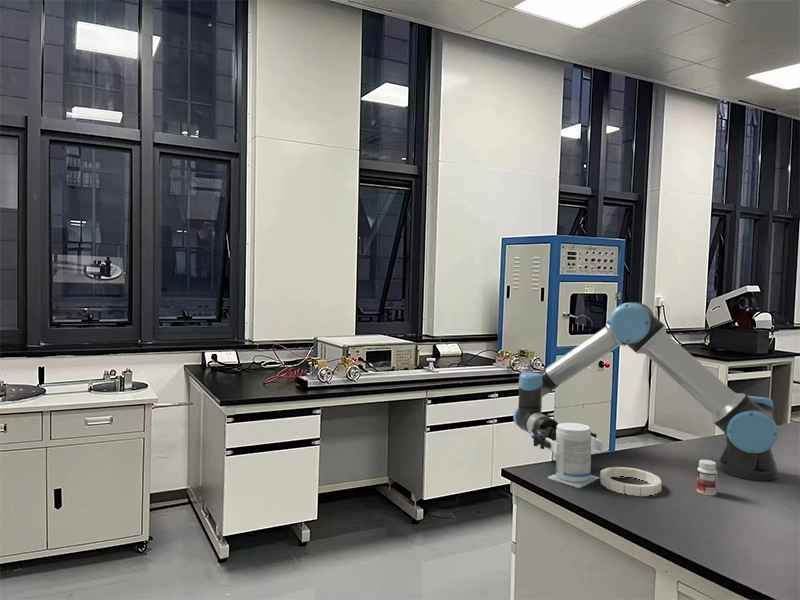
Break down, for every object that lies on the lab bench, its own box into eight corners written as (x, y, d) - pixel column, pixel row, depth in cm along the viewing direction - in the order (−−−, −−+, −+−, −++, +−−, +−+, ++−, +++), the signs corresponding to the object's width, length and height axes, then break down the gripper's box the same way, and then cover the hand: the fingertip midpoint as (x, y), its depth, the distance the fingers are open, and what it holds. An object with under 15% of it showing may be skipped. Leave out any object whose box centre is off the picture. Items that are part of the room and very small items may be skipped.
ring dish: (670, 486, 156) (670, 477, 156) (645, 500, 146) (645, 491, 146) (616, 471, 168) (616, 463, 168) (589, 484, 157) (590, 475, 157)
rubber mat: (599, 479, 161) (599, 477, 161) (579, 488, 154) (579, 486, 154) (568, 470, 169) (568, 468, 169) (547, 478, 161) (547, 476, 161)
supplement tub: (597, 479, 160) (599, 428, 159) (575, 485, 155) (576, 432, 154) (570, 469, 168) (571, 420, 167) (548, 475, 163) (549, 424, 162)
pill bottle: (699, 487, 156) (701, 457, 155) (718, 492, 152) (720, 462, 152) (693, 492, 152) (695, 461, 152) (713, 497, 149) (714, 465, 149)
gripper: (578, 437, 182) (618, 458, 161) (506, 441, 176) (538, 463, 155) (579, 414, 181) (619, 432, 161) (507, 417, 176) (539, 436, 155)
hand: (580, 447), depth 158 cm, fingers open, 13 cm apart
